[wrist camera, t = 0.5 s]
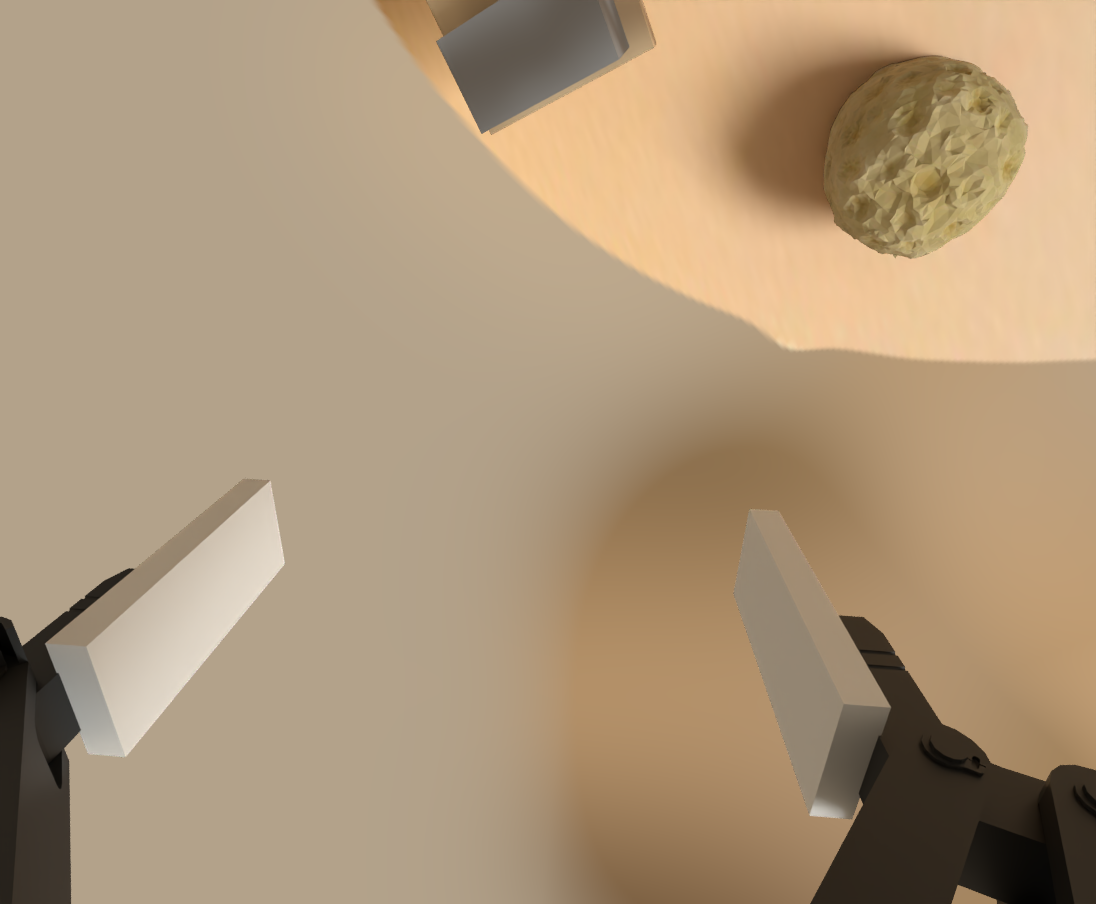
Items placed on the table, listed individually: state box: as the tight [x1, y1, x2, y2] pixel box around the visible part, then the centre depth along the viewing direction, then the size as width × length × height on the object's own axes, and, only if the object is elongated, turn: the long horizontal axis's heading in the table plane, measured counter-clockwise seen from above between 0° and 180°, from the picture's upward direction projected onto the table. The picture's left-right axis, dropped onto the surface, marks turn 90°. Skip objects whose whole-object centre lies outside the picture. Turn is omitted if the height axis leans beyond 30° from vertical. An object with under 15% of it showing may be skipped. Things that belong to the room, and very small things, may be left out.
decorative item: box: [823, 56, 1028, 259], centre depth 34 cm, size 10×10×10 cm
